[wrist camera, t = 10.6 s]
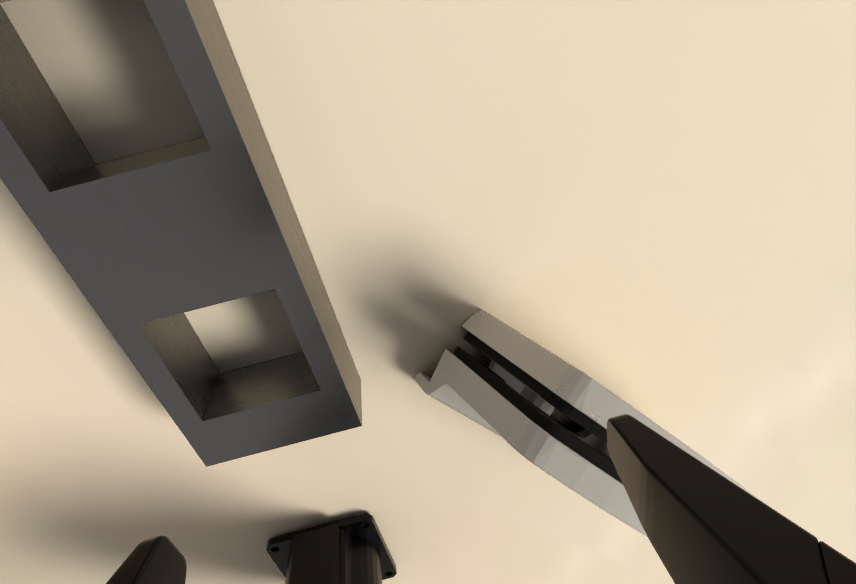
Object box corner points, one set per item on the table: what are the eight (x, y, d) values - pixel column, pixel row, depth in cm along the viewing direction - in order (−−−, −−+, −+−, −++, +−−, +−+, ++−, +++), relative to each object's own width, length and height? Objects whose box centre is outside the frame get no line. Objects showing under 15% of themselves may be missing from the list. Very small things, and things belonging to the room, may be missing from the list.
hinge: (407, 375, 24) (509, 504, 15) (462, 297, 24) (597, 377, 15) (605, 490, 31) (756, 625, 22) (646, 429, 31) (815, 539, 22)
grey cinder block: (360, 380, 23) (361, 425, 21) (222, 416, 23) (206, 466, 21) (151, -157, 13) (102, -199, 10) (-100, -94, 13) (-212, -120, 10)
